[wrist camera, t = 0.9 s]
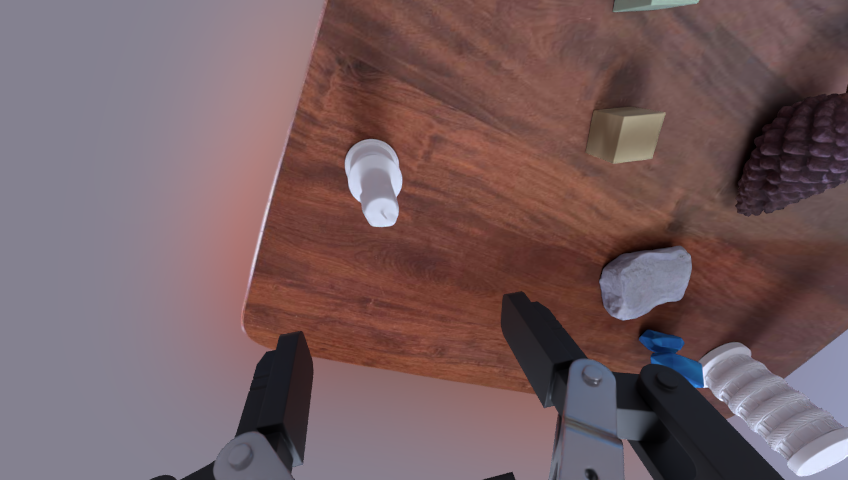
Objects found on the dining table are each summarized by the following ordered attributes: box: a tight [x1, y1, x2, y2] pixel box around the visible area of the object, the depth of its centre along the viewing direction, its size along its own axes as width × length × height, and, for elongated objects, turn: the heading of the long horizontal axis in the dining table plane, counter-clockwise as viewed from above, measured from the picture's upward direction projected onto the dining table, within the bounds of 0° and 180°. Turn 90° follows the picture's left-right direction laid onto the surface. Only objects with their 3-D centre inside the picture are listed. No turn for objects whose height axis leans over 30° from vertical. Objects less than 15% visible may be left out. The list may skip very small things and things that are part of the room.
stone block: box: [599, 246, 692, 320], centre depth 46 cm, size 12×5×10 cm
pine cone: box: [735, 86, 848, 217], centre depth 37 cm, size 18×10×10 cm
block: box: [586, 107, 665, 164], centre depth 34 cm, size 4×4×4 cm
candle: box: [345, 139, 402, 227], centre depth 27 cm, size 5×5×12 cm
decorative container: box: [698, 342, 848, 476], centre depth 58 cm, size 12×12×18 cm
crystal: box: [639, 330, 704, 388], centre depth 53 cm, size 7×9×12 cm
